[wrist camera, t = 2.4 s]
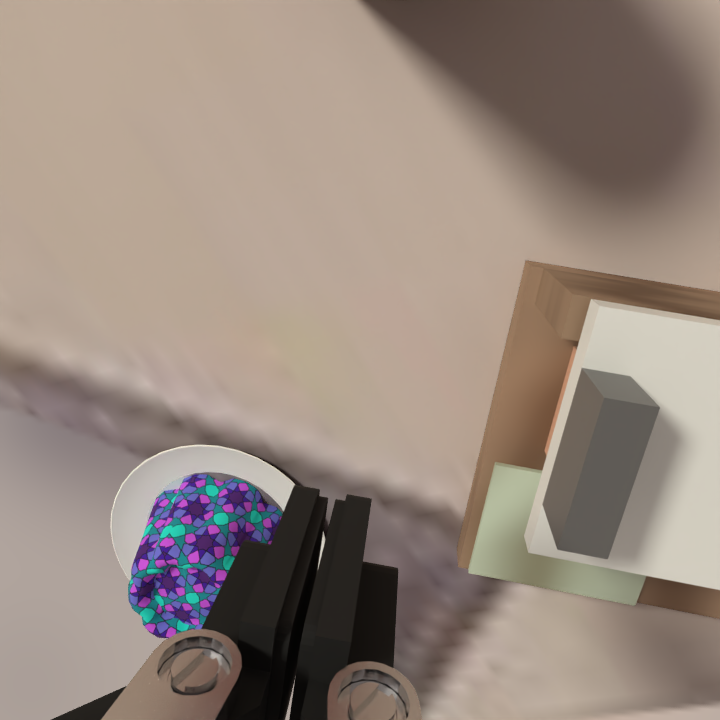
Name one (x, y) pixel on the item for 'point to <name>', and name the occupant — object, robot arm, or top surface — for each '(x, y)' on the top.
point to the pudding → (190, 529)
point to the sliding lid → (636, 449)
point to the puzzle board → (531, 430)
